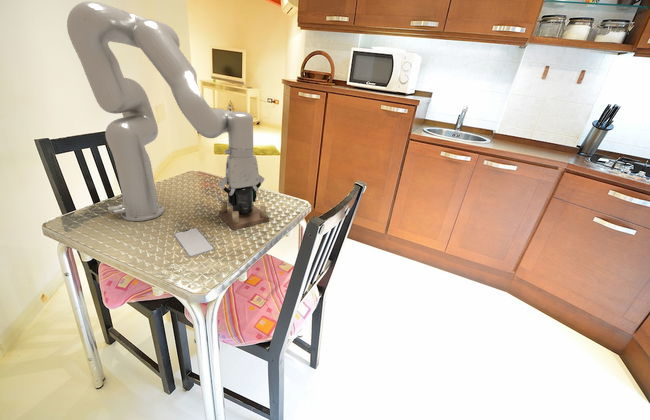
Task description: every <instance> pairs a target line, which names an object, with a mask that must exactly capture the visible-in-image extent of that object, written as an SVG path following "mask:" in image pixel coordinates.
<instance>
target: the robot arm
mask: <svg viewBox="0 0 650 420" xmlns="http://www.w3.org/2000/svg"><path fill="white" fill-rule="evenodd" d="M66 27H67V29H66V30H67V34H68V37H69V40H70V41H71V44H72V47H73V48H74V50H75V53H76V54H77V56H78V59H79V61H80V63H81V66H82V68H83V71H84V73H85V76H86V79H87V81H88V84H89V87H90V88H91V91H92V94H93V96H94V98H95V101H96V102H97V104H98V106H99V107H100V108H101V109H102V110H103V111H104V112H106V113H108V114H113V115H114V114H122V117H119V118H116V119H115V120H112V121H111V122H110V123H109V124H108V125H107V127H106V128H105V133H104V134H105V140H106V143H107V145H108V147H109V149H110V152H111V154H112V157H113V160H114V163H115V168H116V172H117V176H118V182H119V186H120V189H121V194H122V199H123V200H122V201H121V203H118V205H109V206H107V210H108V213H113V214H114V215H116V214H120V216H121V218H122V219H123V220H126V221H129V222H143V221H149V220H153V219H155V218H158V217H160V216H162V214H163V213H164V211H165V208H164V206H163V205H162V204H160V203H158V196H157V190H156V186H155V178H154V173H153V168H152V163H151V158H150V156H149V153H148V151H147V150H146V147H145V146H146V145H149V144H150V143H152V142H153V141H156V138H157V137H158V135H159V134H158V133H159V129H158V128H159V127H158V124H157V120H156V118H155V115H154V112H153V109H152V106H151V102H150V100H149V97H148V95H147V92H146V90H145V89H144V87H142V85H141V84H140V83H138V82H137V81H136V80H134V79H132V78H128V77H124V75H123V71H122V69H121V67H120V64H119V63H120V62H119V61H118V59H117V57H116V56H115V54H114V52H113V51H112V49H111V48H110V46H109V43H110V42H112V43H116V44H117V43H118V44H122V45H123V44H124V45H128V46H131V47H134V48H138V49H140V50H141V51H142V52H143V54H144V55H145V56H146V58H147V59H148V60H149V61H150V62H151V64H152V66H154V67H155V69H156V70H157V71H158V73H159V74H160V76H161V77H162V78H163V80H164V81H165V82H166V83H167V85H168V86H169V88H170V89H171V93H172V95H173V97H174V100H175V102H176V104H177V106H178V109H179V110H180V111H181V113H182V114H183V116H184V117H185V118H186V119H187V122H189V123H190V125H191V126H192V128H193V129H194V130H196V132H197V133H198V134H200V135H201V136H203V138H207V139H215V138H218V137H220V136H221V135H223V134H225V133H227V134H228V149H224V154H225V155H228V156H227V157H226V162H225V176H224V177H223V178H222V179H221V180H220V181H219V182H218V184H217V186H218V187H219V188H221V189H222V190H223V191H224V192H225V193H227V202H229V203H230V204H231V205H232V206H235V195H233V193H234V191H235V189H237V188H244V187H250V186H252V188H253V203H256V202H257V201H256V199H257V192H258V189H259V188H260V187H261V185H262V184H263V183H264V181H265V178H264V177H263V176H262V175H260V174H259V165H258V160H257V157H256V155H255V154H254V117H253V115H252V114H251V113H250V112H246V111H237V110H236V111H231V110H227V109H224V108H223V109H222V108H220V107H219V108H211V106H210V105H209V104H208V103H207V101H206V99H205V98H204V97H203V95H202V92H201V91H200V89H199V85H198V78H197V72H196V69H195V68H194V66H192V64H191V62H190V61H189V60H188V59H187V57H186V56H185V54H184V53H183V52H182V50H181V48H180V46H181V44H180V39H179V36H178V34H177V32H176V31H175V30H174V29H173V27H171V26H170V25H168V24H166V23H164V22H160V21H158V20H155V19H151V18H150V19H149V18H146V17H143V16H139V15H137V14H134V13H131V12H129V11H125V10H122V9H120V8H117V7H114V6H111V5H109V4H106V3H102V2H98V1H93V0H92V1H89V0H88V1H87V0H86V1H83V2H82V1H81V2H79V3H77V4H76V5H75V6H73V7H72V9H71V10H70V11H69V13H68V16H67V19H66ZM226 185H227V186H228V187H226Z"/></svg>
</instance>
